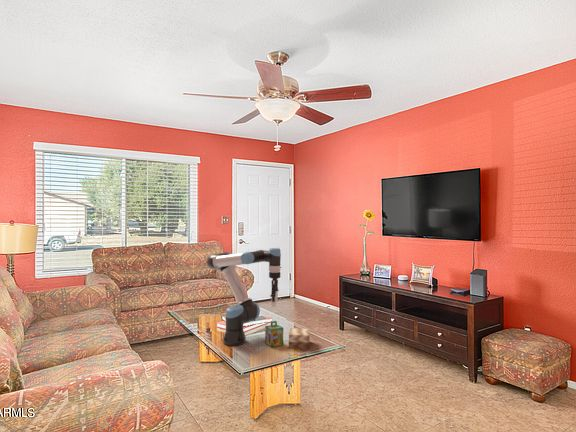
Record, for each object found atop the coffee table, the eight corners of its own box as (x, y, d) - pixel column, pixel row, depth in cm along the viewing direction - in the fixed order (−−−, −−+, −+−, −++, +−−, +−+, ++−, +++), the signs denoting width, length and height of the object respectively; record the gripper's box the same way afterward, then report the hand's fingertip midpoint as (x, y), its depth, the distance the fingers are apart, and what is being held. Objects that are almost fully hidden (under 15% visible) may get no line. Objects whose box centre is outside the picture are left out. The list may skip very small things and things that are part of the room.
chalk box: (271, 347, 227) (271, 324, 227) (264, 343, 234) (264, 321, 234) (283, 344, 232) (283, 322, 232) (276, 340, 239) (276, 318, 239)
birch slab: (289, 341, 226) (289, 334, 226) (290, 334, 239) (290, 328, 239) (309, 342, 225) (309, 335, 225) (309, 335, 238) (309, 328, 238)
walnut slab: (288, 349, 226) (288, 342, 226) (289, 341, 239) (289, 334, 239) (309, 349, 225) (309, 342, 225) (309, 342, 238) (309, 335, 238)
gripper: (278, 275, 220) (278, 309, 220) (281, 268, 245) (281, 299, 245) (266, 275, 221) (266, 308, 221) (271, 268, 245) (270, 299, 246)
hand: (274, 303), depth 233 cm, fingers open, 13 cm apart
